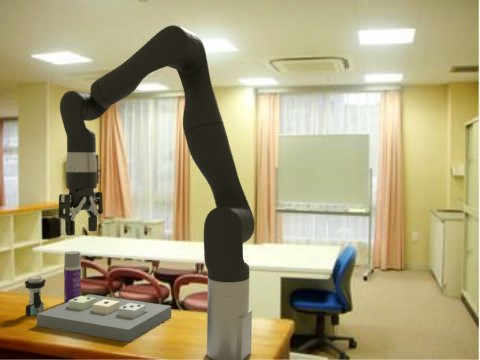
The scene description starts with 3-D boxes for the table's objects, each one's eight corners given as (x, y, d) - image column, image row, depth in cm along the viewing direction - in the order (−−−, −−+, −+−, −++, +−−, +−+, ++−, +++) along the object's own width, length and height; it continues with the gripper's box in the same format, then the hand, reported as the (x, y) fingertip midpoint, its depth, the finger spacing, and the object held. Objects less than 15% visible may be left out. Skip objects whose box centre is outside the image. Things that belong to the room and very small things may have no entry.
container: (75, 304, 138) (75, 254, 138) (61, 303, 139) (61, 253, 139) (83, 300, 143) (83, 251, 142) (69, 299, 144) (69, 250, 143)
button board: (171, 316, 129) (171, 306, 129) (128, 342, 110) (128, 329, 110) (88, 304, 139) (88, 294, 139) (36, 325, 120) (36, 314, 120)
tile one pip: (119, 310, 126) (120, 300, 126) (108, 315, 121) (108, 306, 121) (104, 307, 128) (104, 298, 128) (92, 313, 123) (92, 303, 123)
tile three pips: (145, 314, 123) (145, 304, 123) (134, 320, 118) (134, 309, 118) (129, 311, 125) (129, 302, 125) (117, 317, 120) (118, 307, 120)
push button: (36, 308, 135) (36, 273, 134) (52, 309, 133) (52, 275, 133) (20, 315, 128) (20, 279, 128) (37, 317, 127) (37, 280, 126)
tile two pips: (95, 306, 129) (95, 297, 129) (83, 311, 124) (83, 302, 124) (81, 304, 131) (81, 295, 131) (68, 309, 126) (68, 299, 126)
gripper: (74, 170, 112) (74, 238, 113) (110, 170, 126) (110, 230, 126) (49, 170, 115) (50, 236, 115) (87, 170, 128) (88, 229, 129)
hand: (81, 233), depth 121 cm, fingers open, 8 cm apart
